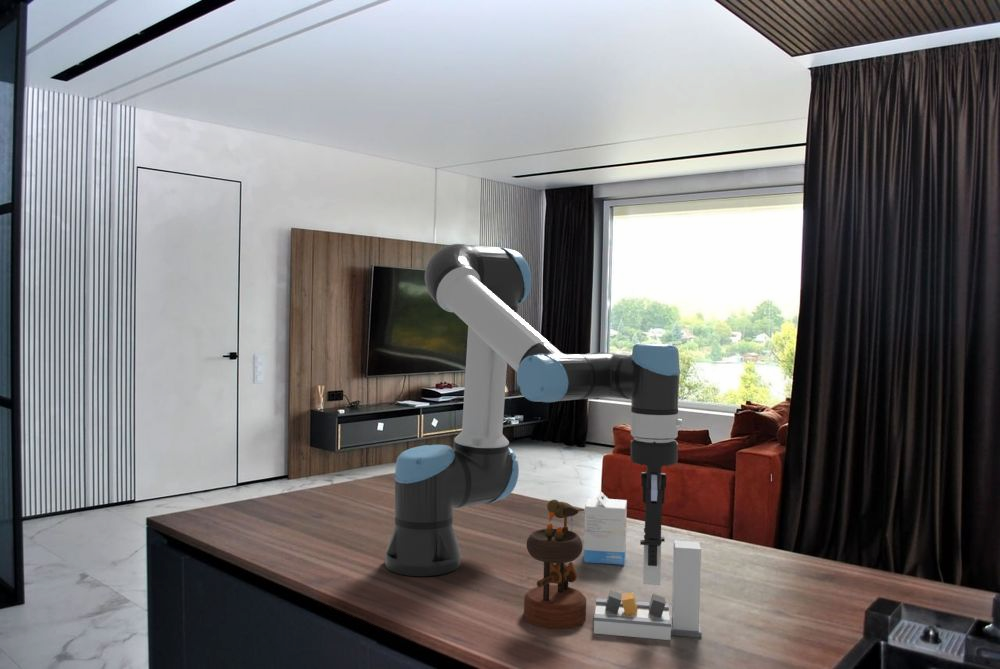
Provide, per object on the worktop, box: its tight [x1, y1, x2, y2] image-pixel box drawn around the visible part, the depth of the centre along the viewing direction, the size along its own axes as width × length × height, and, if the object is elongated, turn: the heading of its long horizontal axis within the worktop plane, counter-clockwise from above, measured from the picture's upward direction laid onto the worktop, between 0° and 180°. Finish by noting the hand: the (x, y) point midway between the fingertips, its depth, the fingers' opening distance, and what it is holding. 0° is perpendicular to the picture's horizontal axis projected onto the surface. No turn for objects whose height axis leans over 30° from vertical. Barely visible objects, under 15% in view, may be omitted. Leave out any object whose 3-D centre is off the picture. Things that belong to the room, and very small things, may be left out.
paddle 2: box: [621, 591, 638, 615], centre depth 126 cm, size 2×3×2 cm
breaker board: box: [593, 597, 672, 641], centre depth 126 cm, size 12×9×2 cm
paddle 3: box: [649, 593, 666, 618], centre depth 125 cm, size 2×3×2 cm
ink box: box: [583, 490, 628, 566], centre depth 161 cm, size 9×8×13 cm
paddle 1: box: [605, 590, 623, 614], centre depth 127 cm, size 2×3×2 cm
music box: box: [523, 499, 587, 630], centre depth 128 cm, size 15×11×20 cm
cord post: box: [670, 539, 703, 639], centre depth 124 cm, size 5×5×14 cm
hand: (651, 583), depth 125 cm, fingers closed
